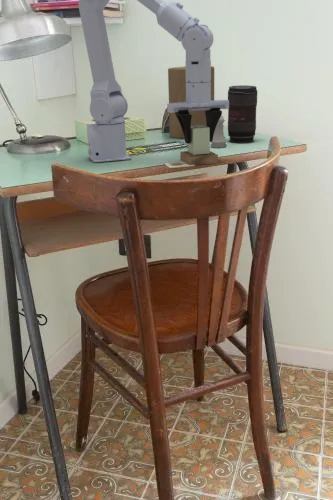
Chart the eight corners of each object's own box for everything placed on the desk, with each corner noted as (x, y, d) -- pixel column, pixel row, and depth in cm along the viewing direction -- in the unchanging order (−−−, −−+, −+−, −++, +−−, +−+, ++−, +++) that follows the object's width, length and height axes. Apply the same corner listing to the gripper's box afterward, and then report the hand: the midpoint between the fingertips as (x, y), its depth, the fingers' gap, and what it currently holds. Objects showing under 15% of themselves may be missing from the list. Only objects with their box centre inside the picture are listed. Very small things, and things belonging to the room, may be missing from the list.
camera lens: (226, 143, 150) (227, 87, 145) (228, 138, 158) (228, 85, 152) (255, 143, 149) (257, 87, 144) (255, 138, 156) (257, 85, 151)
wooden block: (187, 133, 170) (186, 66, 163) (214, 135, 164) (215, 66, 157) (169, 137, 162) (167, 68, 155) (197, 140, 157) (196, 68, 150)
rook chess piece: (226, 148, 144) (226, 117, 141) (209, 148, 145) (209, 117, 142) (227, 145, 148) (227, 115, 145) (211, 145, 149) (211, 115, 146)
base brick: (189, 165, 125) (189, 156, 124) (180, 160, 132) (180, 151, 131) (217, 163, 127) (217, 153, 126) (207, 157, 133) (207, 148, 133)
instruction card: (169, 168, 124) (169, 167, 123) (163, 164, 128) (163, 162, 128) (194, 165, 125) (194, 164, 125) (187, 161, 130) (187, 160, 129)
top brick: (193, 154, 126) (193, 127, 124) (188, 151, 130) (187, 124, 127) (209, 153, 127) (209, 125, 125) (203, 150, 131) (203, 123, 128)
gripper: (173, 84, 117) (174, 147, 122) (234, 81, 121) (233, 142, 126) (163, 82, 124) (165, 142, 128) (222, 79, 127) (222, 137, 132)
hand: (198, 142), depth 128 cm, fingers open, 5 cm apart
